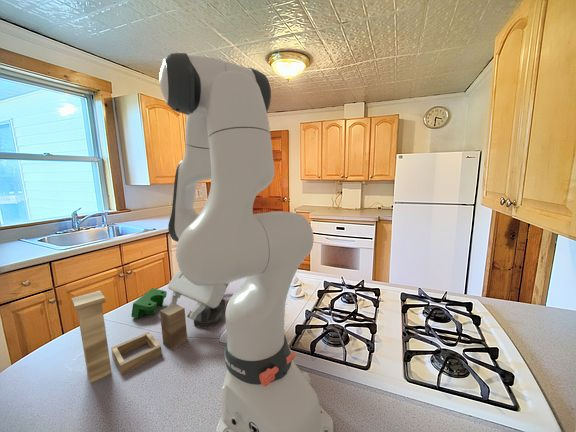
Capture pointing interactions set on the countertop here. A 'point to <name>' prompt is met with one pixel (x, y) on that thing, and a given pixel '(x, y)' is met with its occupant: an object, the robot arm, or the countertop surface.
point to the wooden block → (173, 326)
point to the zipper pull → (210, 316)
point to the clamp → (148, 303)
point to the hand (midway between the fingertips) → (180, 313)
